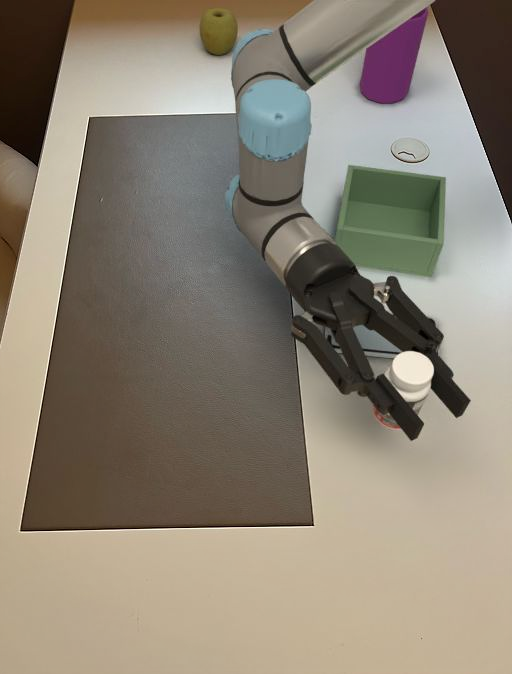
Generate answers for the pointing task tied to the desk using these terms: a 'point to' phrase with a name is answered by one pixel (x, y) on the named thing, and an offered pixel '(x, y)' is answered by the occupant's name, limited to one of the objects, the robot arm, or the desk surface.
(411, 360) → the pill bottle
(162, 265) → the desk surface
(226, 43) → the apple
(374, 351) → the smartphone
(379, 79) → the mug
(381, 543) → the desk surface
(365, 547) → the desk surface
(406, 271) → the open storage box
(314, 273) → the robot arm
